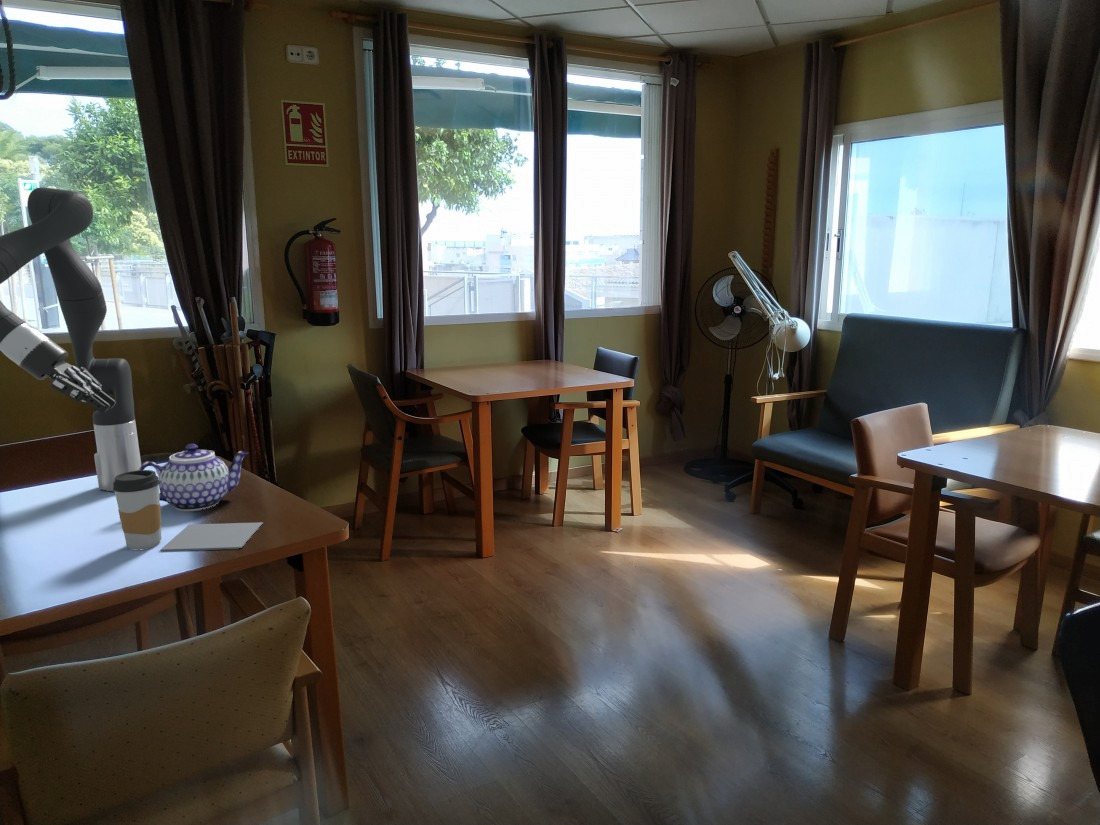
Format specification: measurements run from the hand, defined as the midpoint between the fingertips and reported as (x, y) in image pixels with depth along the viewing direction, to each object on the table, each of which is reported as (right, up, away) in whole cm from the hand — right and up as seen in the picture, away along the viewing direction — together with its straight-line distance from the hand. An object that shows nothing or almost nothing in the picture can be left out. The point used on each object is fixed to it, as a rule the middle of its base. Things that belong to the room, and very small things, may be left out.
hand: (109, 407), depth 153 cm
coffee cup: (+7, -29, +1) cm, 29 cm away
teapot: (+6, -23, +26) cm, 35 cm away
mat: (+19, -27, +5) cm, 34 cm away
